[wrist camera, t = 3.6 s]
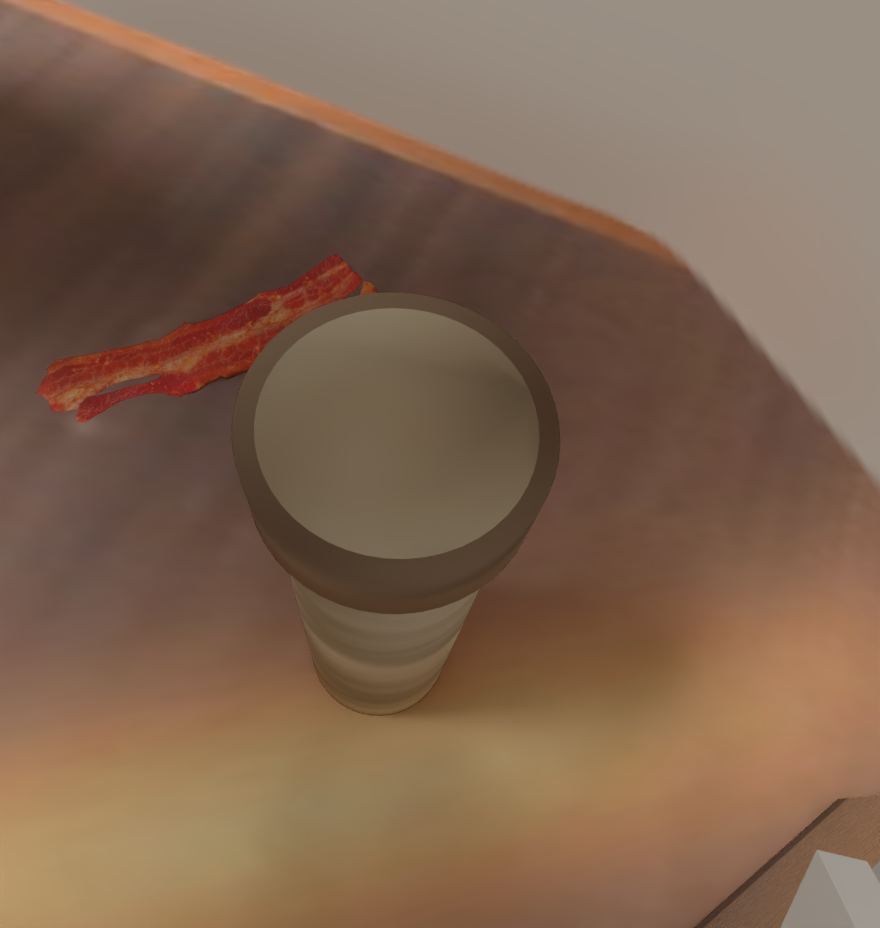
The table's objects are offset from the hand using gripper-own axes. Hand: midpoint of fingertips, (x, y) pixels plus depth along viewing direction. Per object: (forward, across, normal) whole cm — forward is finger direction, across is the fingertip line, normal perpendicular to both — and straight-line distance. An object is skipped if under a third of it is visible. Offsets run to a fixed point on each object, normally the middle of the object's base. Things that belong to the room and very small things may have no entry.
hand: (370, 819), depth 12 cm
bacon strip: (+17, -10, +2) cm, 20 cm away
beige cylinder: (+11, -1, -4) cm, 12 cm away
